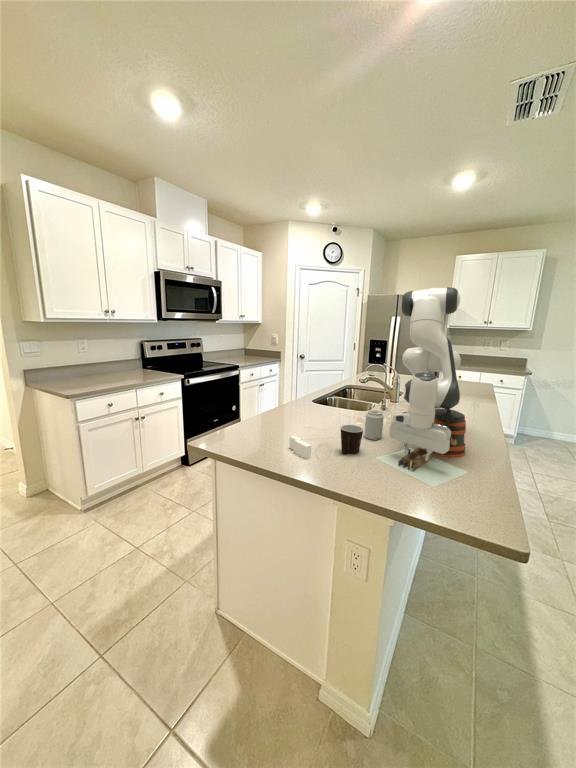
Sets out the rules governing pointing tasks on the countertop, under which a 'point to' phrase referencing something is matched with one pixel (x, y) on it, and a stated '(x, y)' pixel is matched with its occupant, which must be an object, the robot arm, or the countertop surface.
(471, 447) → the countertop surface
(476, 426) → the countertop surface
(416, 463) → the dark brown long piece
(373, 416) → the can
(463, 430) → the striped backpack
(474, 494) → the countertop surface
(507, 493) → the countertop surface
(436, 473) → the wall panel
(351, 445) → the coffee mug
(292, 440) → the napkin holder
